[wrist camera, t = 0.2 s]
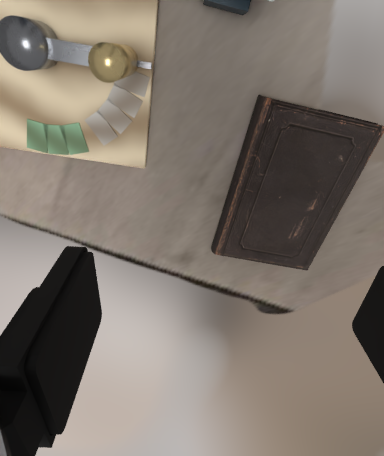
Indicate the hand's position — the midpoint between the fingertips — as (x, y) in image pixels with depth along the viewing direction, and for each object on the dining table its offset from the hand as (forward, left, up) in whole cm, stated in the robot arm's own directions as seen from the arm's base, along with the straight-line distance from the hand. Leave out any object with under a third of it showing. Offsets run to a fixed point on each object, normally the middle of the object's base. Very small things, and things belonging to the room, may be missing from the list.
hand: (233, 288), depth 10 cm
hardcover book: (+8, +14, -31) cm, 35 cm away
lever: (-5, -14, -29) cm, 32 cm away
